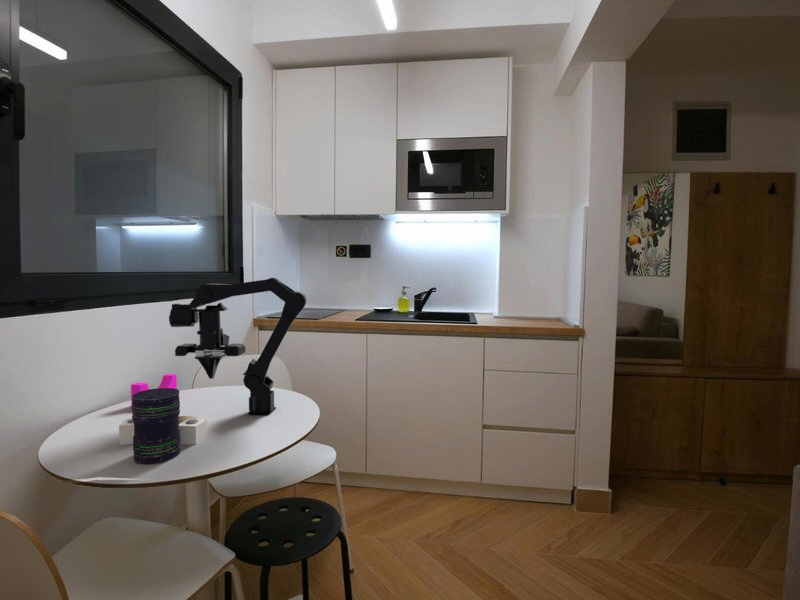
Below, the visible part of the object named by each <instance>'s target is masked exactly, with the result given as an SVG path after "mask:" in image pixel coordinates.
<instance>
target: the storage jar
mask: <svg viewBox="0 0 800 600" xmlns="http://www.w3.org/2000/svg"><path fill="white" fill-rule="evenodd" d="M149 389H150V388H149ZM132 401H133V402H132V408H131V413H132V416H131V419H133V421H134V436H133V444H132V452H133V462H134V463H135V464H136V465H142V466H144V465H145V466H150V465H158V464H163V463H166V462H170V461H171V460H173V459H175V458H177V457H178V456H179V455H180V454H181V448H180V447H181V444H180V442H181V436H180V429H179V416H180V414H181V413H180V412H181V410H180V408H181V407H180V406H181V401H180V390H179V389H178V388H177V389H174V388H158V387H157V388H151V389H150V390H145V391H141V392H138V393H135V394H134V395H132Z"/></svg>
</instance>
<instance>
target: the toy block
mask: <svg viewBox="0 0 800 600" xmlns="http://www.w3.org/2000/svg"><path fill="white" fill-rule="evenodd" d="M177 384H178V383H177V374H172V373H165V374H163V375H162V379H161V382H160V384H159V386H158V387H157V388H174V389H178V385H177ZM145 390H150V388H149V385H148V383H147V382H134V383H132V384H130V399H131V403H130V405H131V409H132V402H133V401H132V395H134V394H135V393H138V392H141V391H145Z"/></svg>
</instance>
